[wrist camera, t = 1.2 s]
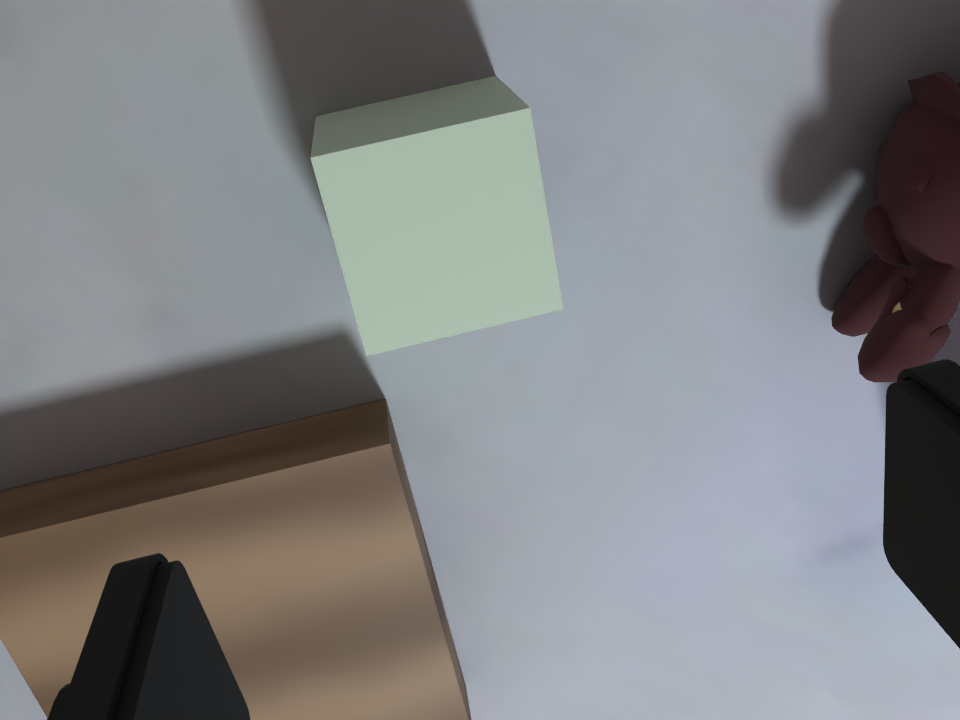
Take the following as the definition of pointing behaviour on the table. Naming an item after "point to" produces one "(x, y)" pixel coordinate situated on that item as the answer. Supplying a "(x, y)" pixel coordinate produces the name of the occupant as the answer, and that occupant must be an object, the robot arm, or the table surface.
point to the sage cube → (437, 213)
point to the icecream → (910, 239)
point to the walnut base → (250, 567)
